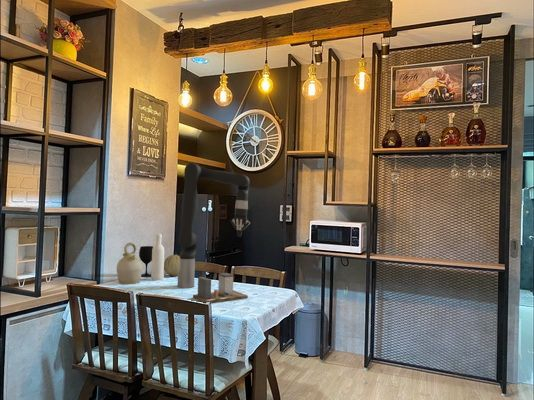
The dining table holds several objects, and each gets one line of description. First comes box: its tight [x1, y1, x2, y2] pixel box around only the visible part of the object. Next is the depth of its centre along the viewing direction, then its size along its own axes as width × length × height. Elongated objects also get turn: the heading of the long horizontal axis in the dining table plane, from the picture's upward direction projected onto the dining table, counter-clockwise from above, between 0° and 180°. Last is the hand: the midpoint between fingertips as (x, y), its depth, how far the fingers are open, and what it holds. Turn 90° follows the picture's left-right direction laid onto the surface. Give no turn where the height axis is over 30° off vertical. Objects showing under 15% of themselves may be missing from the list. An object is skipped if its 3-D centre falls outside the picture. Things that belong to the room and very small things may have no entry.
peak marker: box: [213, 289, 218, 298], centre depth 209 cm, size 1×2×4 cm, turn 37°
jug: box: [116, 242, 144, 285], centre depth 250 cm, size 15×16×25 cm
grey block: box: [217, 272, 235, 296], centre depth 217 cm, size 5×10×11 cm, turn 37°
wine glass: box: [138, 245, 154, 278], centre depth 274 cm, size 10×10×20 cm
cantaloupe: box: [164, 253, 180, 277], centre depth 277 cm, size 15×15×15 cm
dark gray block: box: [197, 276, 212, 299], centre depth 210 cm, size 3×9×10 cm, turn 37°
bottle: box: [150, 233, 165, 281], centre depth 263 cm, size 8×8×30 cm
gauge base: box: [192, 289, 249, 304], centre depth 216 cm, size 25×16×2 cm, turn 127°
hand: (239, 236), depth 242 cm, fingers closed
